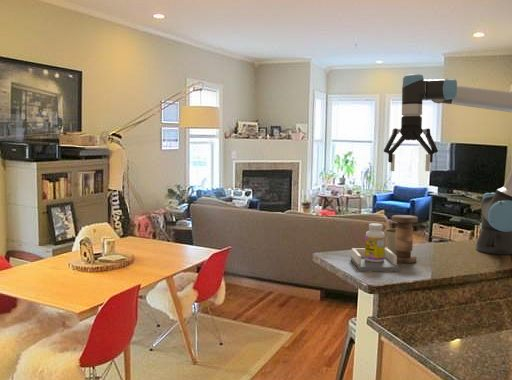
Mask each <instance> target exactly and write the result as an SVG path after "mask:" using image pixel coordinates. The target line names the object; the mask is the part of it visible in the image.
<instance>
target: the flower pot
mask: <svg viewBox="0 0 512 380" xmlns="http://www.w3.org/2000/svg"><path fill="white" fill-rule="evenodd" d="M383 232H384V233H385V238H386V243H387V245H386V246H387V248H388V249H389V250H390V251H391V252H393V253H394V254H396V251H397V250H395V236H396V228H387V229H384V231H383Z"/></svg>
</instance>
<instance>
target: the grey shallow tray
mask: <svg viewBox="0 0 512 380" xmlns="http://www.w3.org/2000/svg"><path fill="white" fill-rule="evenodd" d="M350 255H351V256H350V261H351V260H352V261H351V262H352V263H353V265H354V266H355V265H356V266H357V267H356V266H355V267H356V268H357V270H358V271H359V270H360V271H383V273H385V272H387V273H388V272H389V273H390V272H392V273H395V272H397V273H398V272H399V273H400V268H401V267H400V266H399V265H398V264H397V256H396V255H395V254H394V253H393V252H391V251H390V250H389V249H388V247H387V248H386V247H385V255H384V261H383V262H369V261H366V260H365V247H361V248H360V247H358V248H357V247H356V248H355V247H353V248H351V253H350ZM360 271H359V272H360ZM393 271H394V272H393Z"/></svg>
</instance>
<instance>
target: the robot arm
mask: <svg viewBox="0 0 512 380" xmlns="http://www.w3.org/2000/svg"><path fill="white" fill-rule="evenodd" d="M401 86H402V89H401V91H402V92H401V115H402V117H401V118H400V120H401V122H400V125H401V126H400V128H393V129H392V134H391V135H390V138H389V140H388V141H387V143H386V145H385V147H384V149H383V153H386V154H387V155H388V159H387V161H388V163H390V172H395V166H396V165H395V162H396V160H395V159H396V157H395V156H396V154H394V152H396V150H397V149H398V148H399V147H400V146H401V144H403V142H405V141H417V142H418V143H419V144H420V145H421V147H422V148H423V149H424V151H426V153H425V166H424V169H425V172H430V171H431V163H433V157H434V156H433V155H434V154H437V153H438V151H439V150H438V147H437V145H436V144H435V140H434V139H433V137H432V134H431V129H430V128H424V129H423V128H422V127H423V126H422V125H423V124H422V123H423V117H422V115H423V101H428V100H429V101H431V102H432V103H434V104H445V105H446V104H447V105H455V106H461V107H467V108H468V107H470V108H477V109H478V108H479V109H482V110H483V109H485V110H491V111H498V112H505V113H512V91H505V90H496V89H488V88H481V87H472V86H471V87H470V86H465V85H464V86H463V85H458V81H457V79H456V78H455V79H454V78H444V79H442V78H440V79H425V78H424V75H423V74H419V73H418V74H415V73H414V74H406V75H404V76H403V78H402V85H401ZM399 134H401V136H400V137H399V139H398V140H397V141H396V142H395V143H394V141H395V139H396V137H397V135H399ZM422 134H423V135H425V139H426V140H427V142H428V144H429V146H428V144H427V143H426V141H425V140H424V139H423V137H422V136H421V135H422ZM393 143H394V145H393ZM392 145H393V146H392ZM481 202H482V207H481V208H482V210H481V229H480V233H479V235H478V238H477V240H476V242H475V250H476V251H478V252H481V253H486V254H493V255H505V256H506V255H512V168H511V169H510V171H509V173H508V176H507V178H506V180H505V182H504V185H502V187H499V188H497V189H496V190H495V192H485V193H484V194H483V196H482V200H481Z"/></svg>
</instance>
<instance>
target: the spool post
mask: <svg viewBox="0 0 512 380" xmlns="http://www.w3.org/2000/svg"><path fill="white" fill-rule="evenodd" d="M418 219H419V217H418V216H416V215H409V214H408V215H407V214H406V215H405V214H395V215H392V216H391V221H392V222H395V223H396V225H397V226H395V229H396V236H395V250H397V251H396V254H395V255H396V256H397V263H398V264H414V263H417V255H413V254H412V251H413V247H414V246H413V241H414V227H412V224H414V223H415V224H416V223H418V221H419V220H418Z"/></svg>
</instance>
